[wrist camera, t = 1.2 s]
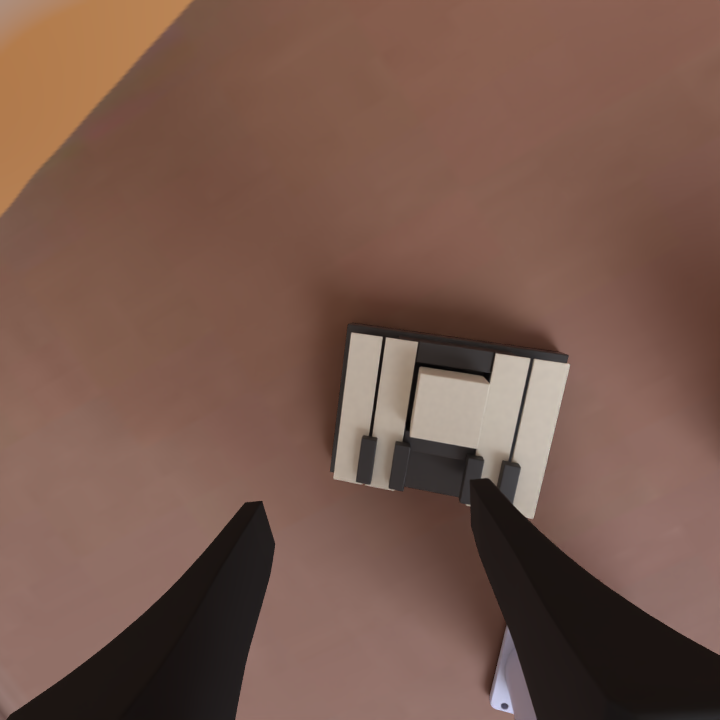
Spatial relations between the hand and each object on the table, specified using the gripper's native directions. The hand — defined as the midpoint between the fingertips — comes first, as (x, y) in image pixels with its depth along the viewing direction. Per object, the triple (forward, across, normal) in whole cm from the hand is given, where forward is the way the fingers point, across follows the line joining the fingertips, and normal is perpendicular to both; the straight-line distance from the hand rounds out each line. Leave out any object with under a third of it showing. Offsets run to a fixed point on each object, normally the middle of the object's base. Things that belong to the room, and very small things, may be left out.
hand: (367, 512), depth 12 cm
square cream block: (+9, -4, +1) cm, 10 cm away
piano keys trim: (+8, -4, +2) cm, 10 cm away
